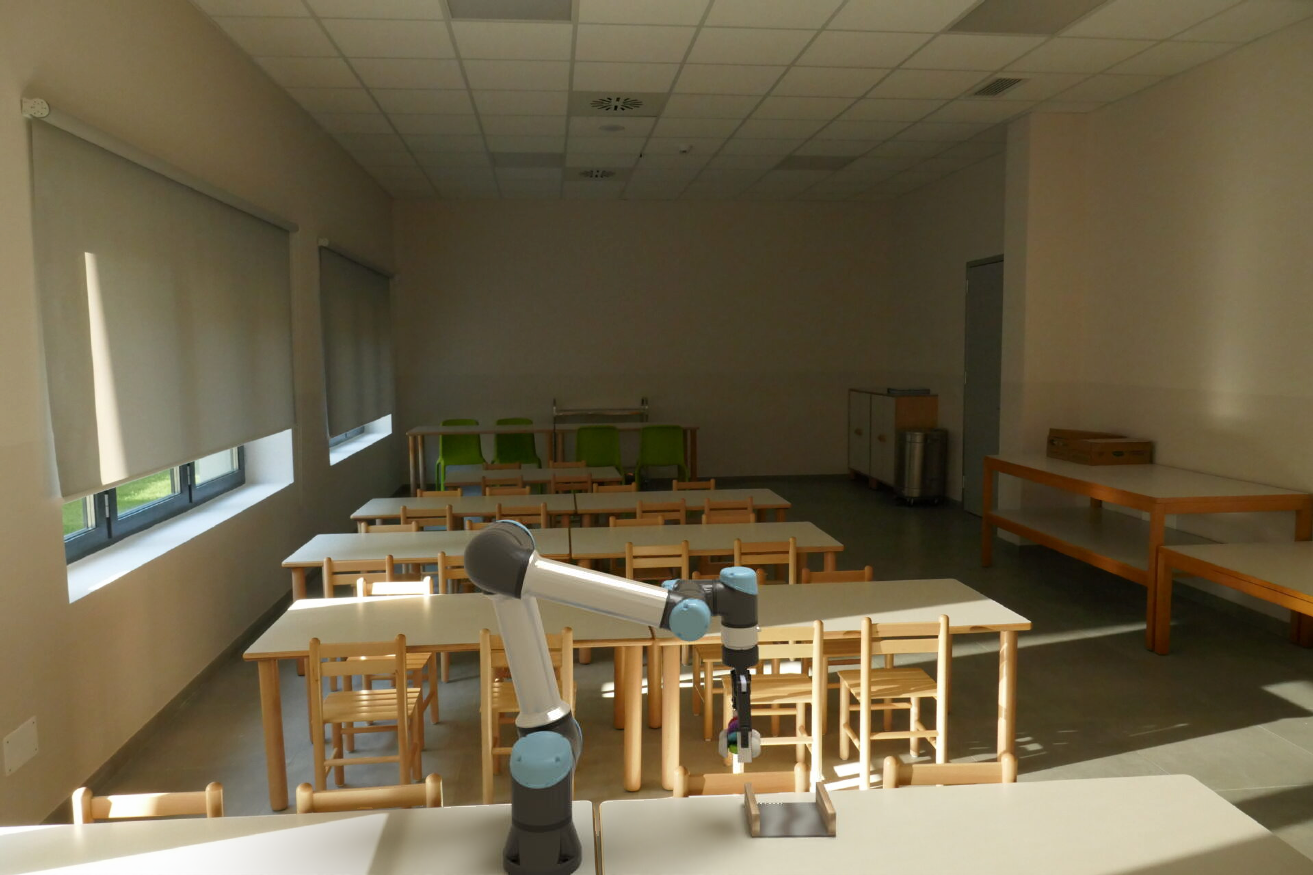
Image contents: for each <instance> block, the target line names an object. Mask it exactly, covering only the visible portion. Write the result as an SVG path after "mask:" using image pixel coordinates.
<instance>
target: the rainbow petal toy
mask: <svg viewBox="0 0 1313 875" xmlns="http://www.w3.org/2000/svg"><path fill="white" fill-rule="evenodd" d="M735 728H738V718H737V716H735V717H733V716H732V718H731V719H730V720H729V721H728V724H727V728H725V729H723V730H722V731H720V733H719V736H718V737H719V738H718V739H719V741H718V754H719V755H720V756H722V757H723V758H726V759H728V758H729V753H731V754H733V755H738V752H737V732H735V731H734V729H735ZM761 747H762V746H761V734H760V732H758V731H757V730H756V729H753V728H752V732H751V757H752V759H755V758H757V757H758V756H760V754H761V753H762V752H761V751H762V750H761Z"/></svg>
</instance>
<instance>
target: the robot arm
mask: <svg viewBox="0 0 1313 875" xmlns="http://www.w3.org/2000/svg"><path fill="white" fill-rule="evenodd" d="M462 564H463V569H464V573H465V574H466V576H467V578H468V579H469V581H471V583H472V584H474V585H475V586H476V587H478V588H479V589H480V590H481V591H482V595H483V596H484V597H485V598H487V599H489V600H490V601H491V602H492V603H493V604H492V605H493V607H494V612H495V616H496V620H497V624H498V628H499V631H500V637H501V640H502V644H503V649H504V651H505V656H506V659H507V664H508V668H509V670H510V671H509V672H510V675H511V681H512V684H513V688H514V692H515V696H516V700H517V703H518V707H519V713H518V715H517V716H516V718H515V720H514V721H515V727H516V730H517V734H518V740H516V742H515V743H514V744H513V746H512V748H511V753H510V758H509V770H510V771H509V772H510V792H511V793H510V798H511V799H510V800H511V801H510V803H511V804H510V805H511V806H510V808H511V812H510V813H511V823H510V828H509V832H508V834H507V838H506V841H505V843H504V847H503V850H502V866H503V869H504V870H505V872H506V873H507V874H509V875H570V874H572V873H573V872H575V871H576V870H577V869H578V868H579V867H580V865H581V864H582V860H583V859H582V858H583V855H582V854H583V853H582V851H583V849H582V843H581V841H580V838H579V835H578V833H577V832H578V831H577V829H576V826H575V824H574V819H573V780H574V776H575V772H576V768H577V764H578V760H579V758H580V756H581V753H582V749H583V735H582V730H581V727H580V725H579V723H578V722H577V720H576V719H575V718H574V716H573V711H572V708H571V705H570V704H569V703H568V702H566V701H564V700H562V698H561V694H560V691H559V687H558V681H557V678H556V674H555V671H554V666H553V662H552V658H551V654H550V650H549V646H548V643H547V641H548V640H547V638H546V634H545V630H544V626H543V622H542V617H541V614H540V610H539V605H538V601H537V599H540V600H544V601H548V602H553V603H555V604H561V605H564V606H567V607H568V606H569V607H572V608H575V609H576V608H577V609H580V610H585V611H588V612H593V613H597V614H600V615H605V616H609V617H612V618H617V619H620V620H625V621H628V622H633V623H637V624H640V625H644V626H650V627H653V628H657V629H662V630H664V631H668V632H672V633H673V635H674V636H676V637H677V638H678V639H680V641H684V642H688V643H689V642H696V641H698V640H701V639H702V638H703V637H704V636H705V635H706V634H707V632H708V631H709V628H710V627H711V626H710V624H711V622H712V618H713V617H715V618H716V617H720V641H721V643H722V645H721V662H722V664H723V665H725V666H726V667H729V668H731V669H730V670H729V676H730V680H731V681H730V683H731V684H730V685H731V699H730V700H731V703H732V706H731V707H732V718H733V717H735V716H737V718H738V728H735V729H734V731H735V732H737V752H738V754H737V763H739V764H744V763H752V761H753V760H752V759H753V758H752V751H751V732H752V729H753V727H752V724H753V723H752V707H751V706H752V705H751V704H752V702H751V694H752V688H751V685H752V684H751V683H752V673H751V671H750V669H749V668H751V667H754V666H757V665H758V664H759V661H760V656H759V655H760V652H759V649H760V648H759V647H760V646H759V644H758V643H759V634H758V633H762V628H761V627H760V626H759V609H758V608H759V592H758V591H759V589H758V575H757V573H756V572H755V570H753V569H752V568H750V567H745V566H732V567H724V568H722V569H721V570H720V572H719V576H718V578H714V579H713V578H712V579H710V578H708V579H705V578H704V579H681V578H676V579H672V580H671V579H670V580H665V581H663V582H662V583H661V586H658V585H653V584H649V583H645V582H641V581H638V580H634V579H629V578H626V577H621V576H618V575H614V574H610V573H607V572H606V573H605V572H602V571H598V570H593V569H589V568H585V567H581V566H578V565H574V564H570V563H565V562H561V561H558V560H553V559H551V558H550V559H549V558H546V557H542V556H541V555H540V554H539V552H538V551H537V550H536V544H535V539H534V537H533V535H532V533H531V532H530V530H529V529H528V528H527V527H526V526H525V525H523V524H522V523H521V522H518V521H516V520H512V519H500V520H496V521H494V522H491V523H489V524H487V525H485V526H484V527H483V528H482V529H481V530H480V531H479V532H478V533H477V534H476V535H475V536H473V537H472V538H471V539H470V540H469V541H468V544H467V545H466V547H465V549H464V552H463V557H462Z"/></svg>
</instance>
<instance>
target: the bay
mask: <svg viewBox="0 0 1313 875" xmlns="http://www.w3.org/2000/svg"><path fill="white" fill-rule="evenodd" d="M743 791H744V794H743V796H744V804H745V805H744V808H746V809H745V813H746V812H747V814H746V818H747V817H748V818H747V821H748V826H749V830H750V835H751V838H830V837H831V838H833V837H834V838H836V837H837V829H836V828H837V812H836V809H835V807H834V804H833V802H832V800H831V798H830V795H829V793H828V790H827V789H826V786H825V783H824V782H823V781H815V801H812V802H810V801H809V802H807V801H806V802H803V801H802V802H757V798H756V795H755V790H754V787H753V783H752V782H744V790H743ZM757 803H758V804H757ZM760 803H762V804H760ZM765 803H766V804H765ZM769 803H771V804H769ZM773 803H775V804H773ZM777 803H779V804H777ZM781 803H782V804H781Z"/></svg>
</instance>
